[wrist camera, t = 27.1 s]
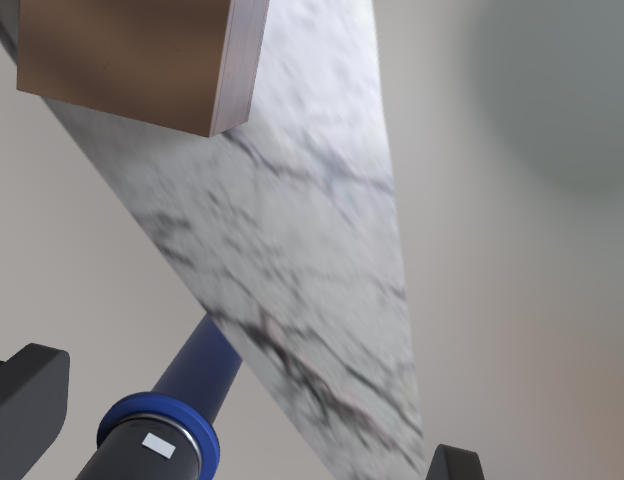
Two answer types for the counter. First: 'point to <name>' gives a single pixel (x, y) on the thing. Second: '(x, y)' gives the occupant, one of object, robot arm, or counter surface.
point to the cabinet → (145, 58)
